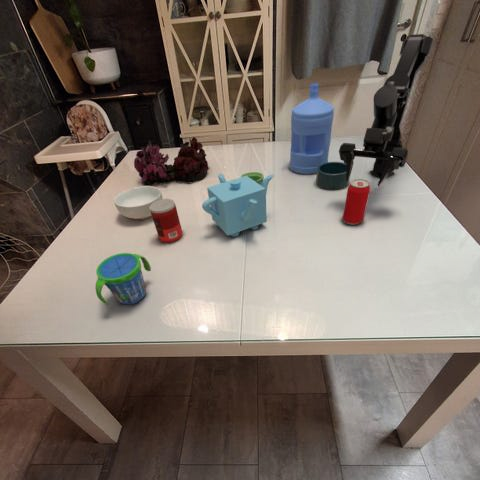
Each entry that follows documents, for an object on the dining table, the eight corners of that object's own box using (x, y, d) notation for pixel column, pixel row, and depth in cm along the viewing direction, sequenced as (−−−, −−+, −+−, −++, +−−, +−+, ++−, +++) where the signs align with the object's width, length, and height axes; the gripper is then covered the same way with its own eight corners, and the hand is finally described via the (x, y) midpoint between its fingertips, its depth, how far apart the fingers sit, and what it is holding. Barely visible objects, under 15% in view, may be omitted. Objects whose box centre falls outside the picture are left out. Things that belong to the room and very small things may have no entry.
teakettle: (204, 238, 95) (195, 193, 84) (223, 209, 107) (217, 166, 96) (261, 244, 91) (259, 197, 80) (274, 213, 102) (274, 168, 91)
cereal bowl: (175, 211, 110) (170, 192, 104) (137, 231, 102) (130, 211, 97) (148, 199, 118) (143, 181, 113) (112, 216, 111) (104, 198, 106)
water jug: (300, 158, 133) (304, 78, 112) (333, 163, 126) (344, 79, 105) (282, 171, 125) (284, 88, 104) (317, 177, 118) (325, 90, 97)
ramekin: (268, 187, 116) (268, 175, 113) (250, 195, 113) (250, 183, 109) (254, 180, 121) (253, 169, 118) (236, 188, 118) (235, 177, 115)
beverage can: (360, 215, 96) (369, 177, 88) (364, 225, 92) (373, 187, 83) (340, 216, 97) (347, 178, 88) (343, 226, 93) (350, 188, 84)
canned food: (187, 231, 99) (179, 199, 91) (176, 244, 94) (166, 212, 86) (166, 229, 101) (157, 197, 93) (155, 242, 96) (144, 210, 88)
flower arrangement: (207, 163, 138) (201, 126, 127) (212, 181, 125) (206, 141, 114) (140, 174, 136) (128, 138, 125) (138, 193, 123) (124, 154, 112)
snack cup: (119, 322, 73) (101, 291, 66) (96, 304, 78) (77, 274, 71) (167, 287, 81) (156, 256, 73) (143, 273, 86) (131, 243, 78)
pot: (335, 173, 119) (337, 159, 115) (355, 184, 111) (358, 169, 107) (309, 181, 116) (311, 166, 112) (328, 193, 109) (330, 177, 105)
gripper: (346, 110, 83) (327, 167, 85) (419, 114, 76) (397, 175, 78) (349, 133, 93) (333, 183, 96) (414, 138, 86) (394, 192, 88)
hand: (362, 183), depth 89 cm, fingers open, 9 cm apart
